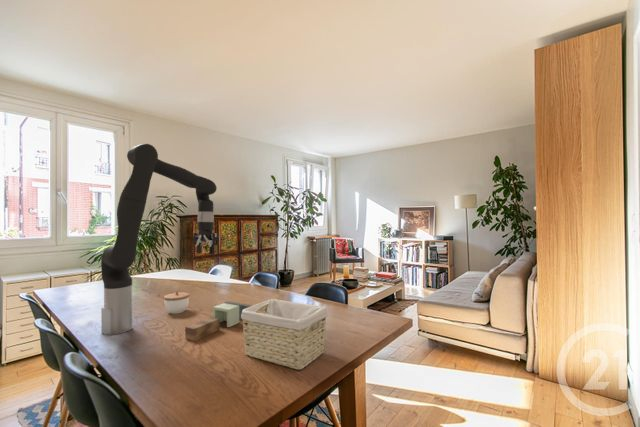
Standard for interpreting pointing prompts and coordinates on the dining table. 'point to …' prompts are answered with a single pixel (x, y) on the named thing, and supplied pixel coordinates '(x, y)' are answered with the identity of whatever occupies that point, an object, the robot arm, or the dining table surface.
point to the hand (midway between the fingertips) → (205, 254)
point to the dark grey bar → (241, 307)
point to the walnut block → (202, 328)
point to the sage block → (227, 313)
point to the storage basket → (284, 332)
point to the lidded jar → (176, 302)
